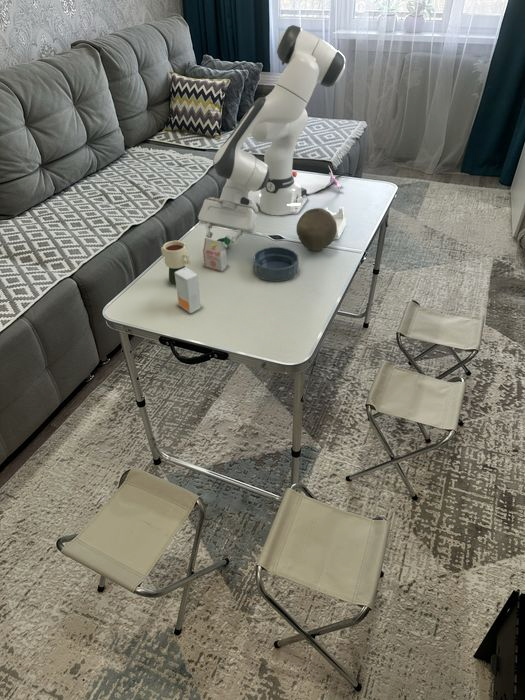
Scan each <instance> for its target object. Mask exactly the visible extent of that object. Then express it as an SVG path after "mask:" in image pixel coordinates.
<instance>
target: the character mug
mask: <svg viewBox="0 0 525 700" xmlns="http://www.w3.org/2000/svg"><path fill="white" fill-rule="evenodd" d="M160 251H161V256H162V257H163V258H164V259H163V260H164V264H165V266H166V267H167V268H168V282H169V283H170V284H171V285H174V286H176V280H175V272H176V271H178V270H180V269H183V268H186V265H190V263H191V259H190V255H189V254H188V251H187V246H186V243H185V242H184V241H181V240H171V241H167V242H165V243H164V244H163V245H162V246H161V248H160Z"/></svg>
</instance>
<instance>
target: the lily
mask: <svg viewBox="0 0 525 700" xmlns="http://www.w3.org/2000/svg"><path fill="white" fill-rule="evenodd" d="M328 168H329V171H330V172H329V175H330V179H329V182H328V184H326V186H325V187H324V188H326V187H327V186H328V185H330V184H333V185H334V186H335V187H337V188H338V190H339V191H340V193H342V191H341V187H342V186H341V184H340V182H339V181H338V180H339V177H338V178H337V179H335V176H334V174H333V171H332V169H331V168H330V166H328ZM325 190H326V189H324V190H323V191H325Z"/></svg>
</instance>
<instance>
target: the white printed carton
mask: <svg viewBox="0 0 525 700" xmlns="http://www.w3.org/2000/svg"><path fill="white" fill-rule="evenodd" d="M202 252H203V267H204V268H206V269H211V270H214V271H218V272H223V271H224V270H226V268H227V267H228V259H227V256H228V255H227V249H225V247H224V244H223V242H220V241H217V240H216V239H212V238H207V237H205V238H204V243H203V249H202Z"/></svg>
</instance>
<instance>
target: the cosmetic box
mask: <svg viewBox="0 0 525 700" xmlns="http://www.w3.org/2000/svg"><path fill="white" fill-rule="evenodd" d="M175 280H176V285H175V287H176V295H177V303H178V306H179V307H180V308H182V309H183V310H185V311H186V312H188V313H189V314H192V313H194V312H197V311H199V310H200V309H201V308H202V306H201V305H202V304H201V296H200V295H201V294H200V285H199V275H198V274H197V273H195V272H194V271H193V270H191V269H189V268H187V267H185V268H183V269H180V270H178V271H176V272H175Z"/></svg>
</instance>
